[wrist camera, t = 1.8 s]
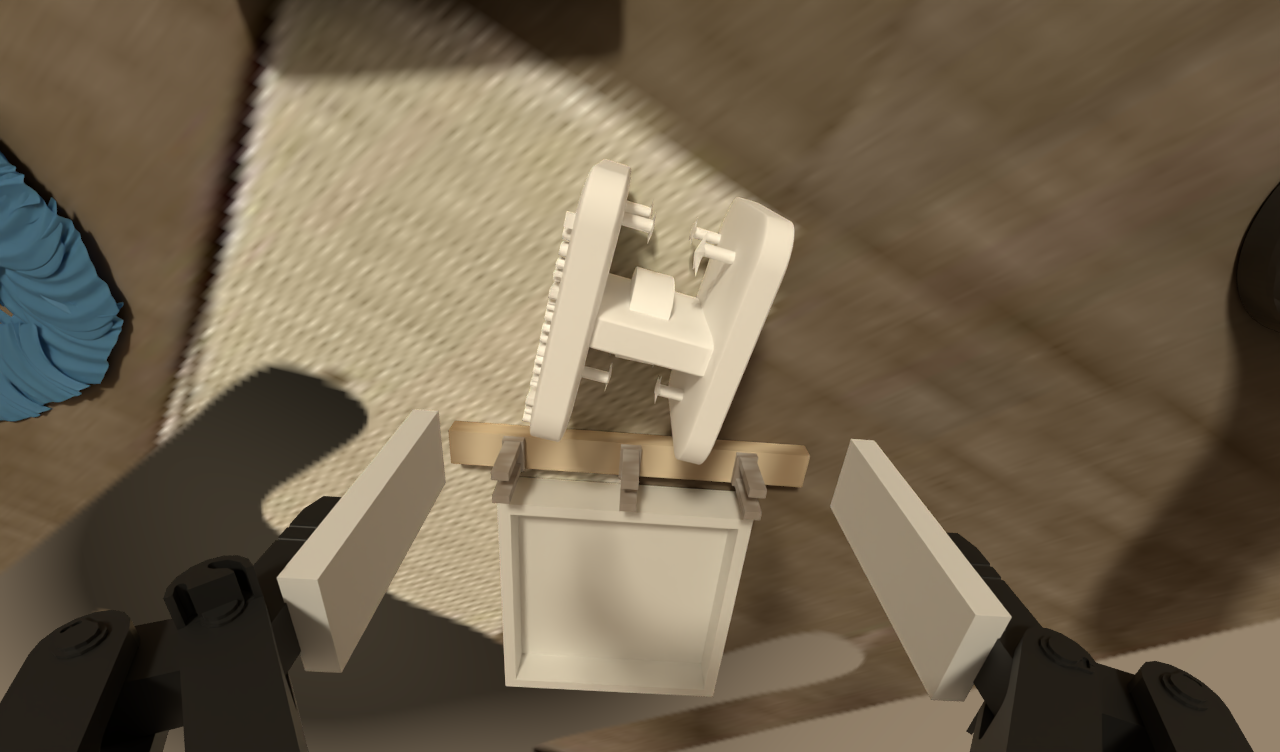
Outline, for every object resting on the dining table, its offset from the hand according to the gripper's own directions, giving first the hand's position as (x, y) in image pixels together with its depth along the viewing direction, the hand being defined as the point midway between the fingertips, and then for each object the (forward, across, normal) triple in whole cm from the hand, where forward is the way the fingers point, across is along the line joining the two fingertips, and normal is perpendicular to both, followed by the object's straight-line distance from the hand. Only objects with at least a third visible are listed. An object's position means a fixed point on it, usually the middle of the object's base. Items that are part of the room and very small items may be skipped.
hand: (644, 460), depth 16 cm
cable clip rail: (+21, 0, +14) cm, 25 cm away
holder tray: (+21, 0, +28) cm, 35 cm away
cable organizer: (+21, 0, 0) cm, 21 cm away
